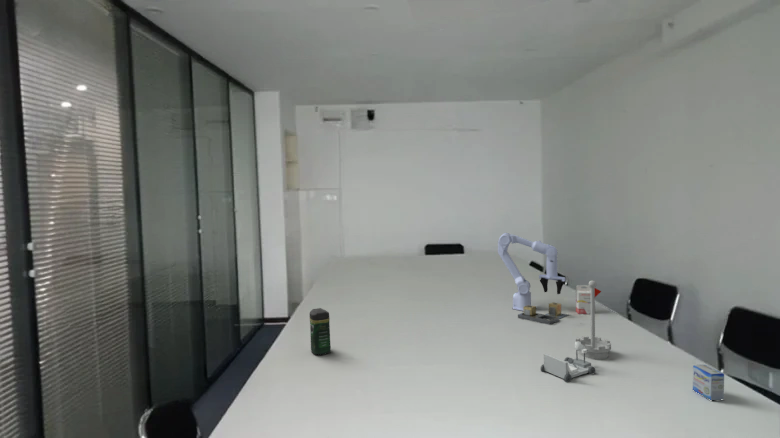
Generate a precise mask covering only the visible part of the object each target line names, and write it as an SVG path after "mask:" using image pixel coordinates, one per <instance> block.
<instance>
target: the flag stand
mask: <svg viewBox="0 0 780 438" xmlns="http://www.w3.org/2000/svg"><path fill="white" fill-rule="evenodd" d="M588 285H589V286H590V291H591V314H590V338H589V336H588V335H584V336H581V338H580V337H576V338H575V342H579V343H581V342H582V345H584V346H585V349H587V350H588V351H587V353H585V359H586V358H587V359H593V360H605V359H607V358H609V352H610V351H611V350H612V342H611V341H610V340H609V339H607V338H606V339H605V338H604V340H603V339H602V337H600V336H596V311H595V310H596V309H595V308H596V305H595V304H596V299H595V298H596V297H597V296H598V295H599V294H600V293H601V292H602V290H600V289H598V288H596V287H597V282H596V281H595V280H590V281H589V282H588ZM578 355H579V356H581V357H583V358H584V353H581V351H578Z"/></svg>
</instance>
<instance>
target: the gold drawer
mask: <svg viewBox="0 0 780 438" xmlns="http://www.w3.org/2000/svg"><path fill="white" fill-rule="evenodd" d="M523 313H524V315H526V316H531V317H533V316H535V315H536V313H537V306H535V305H532V304H531V305H527V306H524V311H523Z"/></svg>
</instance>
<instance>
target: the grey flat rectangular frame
mask: <svg viewBox="0 0 780 438" xmlns="http://www.w3.org/2000/svg"><path fill="white" fill-rule="evenodd" d="M517 319H521V320H525V321H529V322H535V323H541V324H545V325H552V324H554V323H557V322H559V321H560V319H559V317H555V316H550V315H545V314H543V313H538V312H536V315H535V316H533V317H531V316H526V315H524V312H521V313H519V314H517Z"/></svg>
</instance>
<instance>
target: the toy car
mask: <svg viewBox="0 0 780 438" xmlns="http://www.w3.org/2000/svg"><path fill="white" fill-rule="evenodd" d="M574 349H575V350H576V351H575V353H576V357H575V358H574V359H573V358H572V357H569V356H567V357H565V358H564V360H563V359H560V358H557V357H556V356H555V357H554V356H553V355H550V354H547V353H544V354H543V363H542V364H541V366H540V372H542V373H545V372H547V373H550V374H552V375H554V376H556V377H559V378H561V379H563V381H564V382H565V383H569V382H571V381H572V379H573V378H576V377H578V376H581V375H582V376H583V375H586V374H587V373H588V375H594V374H595V373H596V367H595V366H593V365H592V362H589V361H587V360H586V357H585V353H587V351H588V350H587V349H585V346H584V345H582V342H581V343H579V342H576V341H575V342H574ZM579 351H581V353H584V357H583V359H582V358H579V353H578V352H579ZM544 371H545V372H544ZM593 373H594V374H593ZM568 381H569V382H568Z"/></svg>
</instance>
